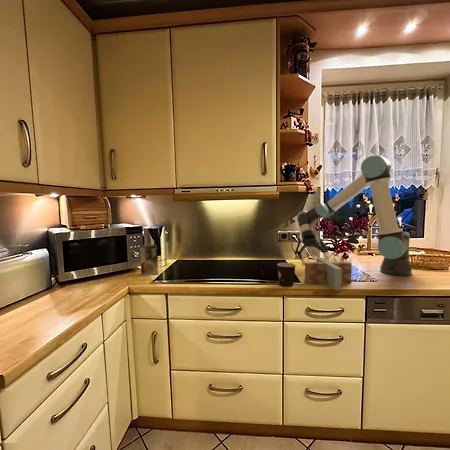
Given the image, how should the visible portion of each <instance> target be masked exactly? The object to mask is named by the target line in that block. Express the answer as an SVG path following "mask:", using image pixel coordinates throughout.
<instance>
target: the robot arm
mask: <svg viewBox="0 0 450 450" xmlns="http://www.w3.org/2000/svg"><path fill="white" fill-rule="evenodd" d="M391 169H392V165H391V162H390V160H389V159H387V158H385V157H384V156H382V155H379V154H372V155H368V156H367V157H365V158H364V160H362V162H361V164H360V170H361V174H360V175H359V176H358V177H357V178H356V179H354V180H353V181H351V182H350V183H349V184H348V185H347V186H345V188H342V190H341V191H340V192H338V193H337V194H336V195H334V196H333V197H332V198H330V199H329V200H328V201H327V202H326V203H324V202H320V203H319V204H317V205H315V206H314V207H312V208H311V209H309V210H302V211H301V210H300V211H299V212H298V213H297V214H296V218H297V220H296V221H297V222H298V227H299V231H300V235H301V238H298V240H297V245H296V248H295V251H294V254H295V255H297V256H298V259H299V260H300V261H301V265H302V266H305V263H306V261H305V257H304V253H303V251H304V250H305V248H307V247H308V248H315V249H317V250H319V252H321V253H322V254H323V257H324V259H325V260H327V261H329V262H330V260H329V259H330V258H329V259H328V256H327V254H326V251H327V250H326V249H328V248H329V247H328V245H327V244H325V242H324V241H323V239H322V238H319V239H317V238H316V234H315V231H314V227H313V223H316V221H318V220H320V219H325V218H330V217H331V216H333V214H334V213H336V211H338V210H339V209H341V207H343V206H345V204H347V203H348V202H350V201H351V200H352V199H354V198H355V197H356V196H357V195H359V194H360V193H362V192H363V191H364V190H366V189H367V188H368V187H369V189H370V193H371V198H372V203H373V207H374V211H375V216H376V220H377V225H378V232H377V234H376V237H377V241H378V243H377V251H378V252H379V254H380V255H381V257H383V259H382V261H381V265H380V266H379V271H380V272H381V273H383V274H387V275H392V276H400V277H401V276H404V277H405V276H411V275H413V274H412V273H413V270H412V267H411V264H410V261H409V257H410V239H411V237H410V236H411V235H410V232H407V231H403V229H401V228H400V227H399V226H398V222H397V217H396V212H395V207H394V202H393V199H392V198H393V197H392V194H391V189H390V184H389V181H391V180H390V179H392V177H391V174H390V173H391V172H390V171H391ZM301 244H303V246H302V247H301V248H300V245H301ZM299 248H300V249H299ZM324 251H325V253H324ZM327 252H328V251H327Z"/></svg>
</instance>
